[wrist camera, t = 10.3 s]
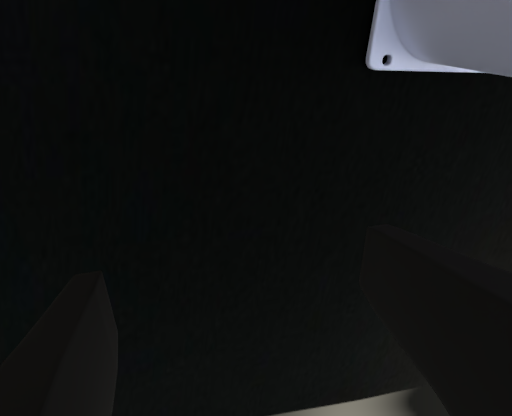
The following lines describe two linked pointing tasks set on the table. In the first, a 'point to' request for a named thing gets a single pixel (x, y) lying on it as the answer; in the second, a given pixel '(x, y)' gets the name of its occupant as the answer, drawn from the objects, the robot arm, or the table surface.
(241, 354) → the table surface
